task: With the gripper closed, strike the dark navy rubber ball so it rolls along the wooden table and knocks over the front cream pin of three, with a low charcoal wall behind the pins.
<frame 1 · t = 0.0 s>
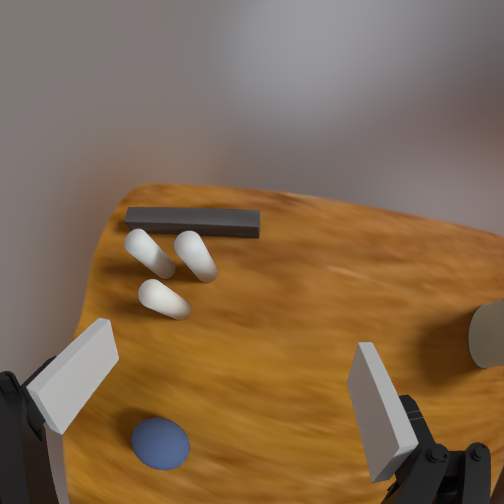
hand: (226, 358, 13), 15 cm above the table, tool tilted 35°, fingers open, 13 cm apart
back wall: (193, 227, 33), on the table
can: (487, 336, 26), on the table
ball: (160, 444, 21), on the table
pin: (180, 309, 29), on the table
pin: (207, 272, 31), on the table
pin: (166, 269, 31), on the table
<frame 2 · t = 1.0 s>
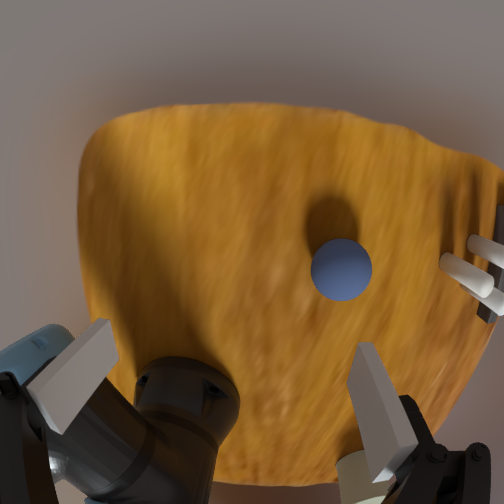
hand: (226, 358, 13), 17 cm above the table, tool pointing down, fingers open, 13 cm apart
back wall: (493, 262, 27), on the table
can: (358, 460, 38), on the table
ball: (341, 269, 25), on the table
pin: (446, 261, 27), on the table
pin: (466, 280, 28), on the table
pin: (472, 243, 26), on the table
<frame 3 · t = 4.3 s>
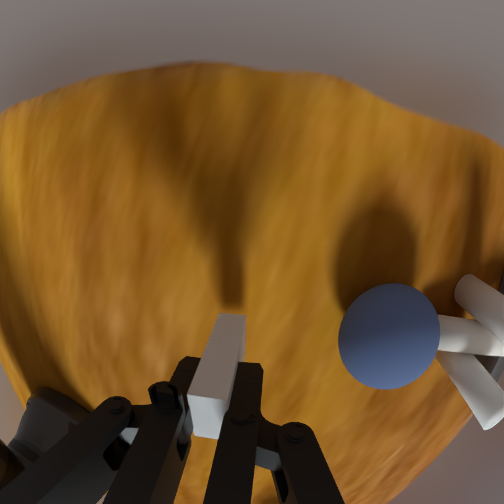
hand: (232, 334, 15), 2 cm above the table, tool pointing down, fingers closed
back wall: (496, 315, 15), on the table
ball: (389, 336, 13), on the table
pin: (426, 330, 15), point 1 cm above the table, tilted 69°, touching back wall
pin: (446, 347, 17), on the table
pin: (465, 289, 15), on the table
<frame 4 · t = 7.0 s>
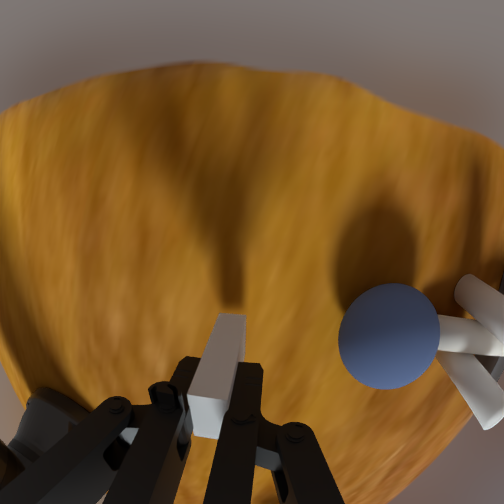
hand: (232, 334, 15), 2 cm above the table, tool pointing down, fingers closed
back wall: (497, 315, 15), on the table
ball: (389, 336, 13), on the table
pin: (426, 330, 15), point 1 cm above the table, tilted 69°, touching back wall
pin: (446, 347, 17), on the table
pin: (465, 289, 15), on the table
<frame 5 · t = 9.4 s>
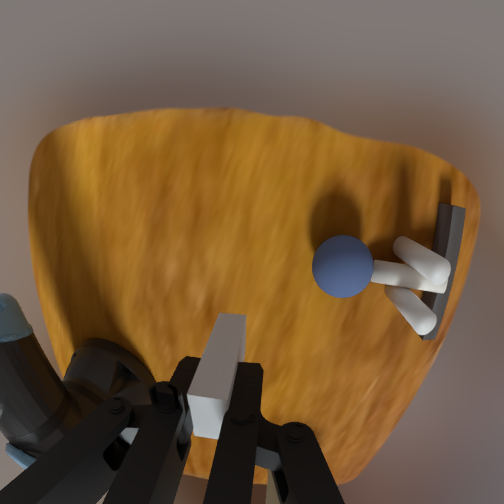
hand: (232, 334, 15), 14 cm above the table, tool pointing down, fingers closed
back wall: (434, 269, 27), on the table
can: (291, 465, 40), on the table
ball: (342, 266, 25), on the table
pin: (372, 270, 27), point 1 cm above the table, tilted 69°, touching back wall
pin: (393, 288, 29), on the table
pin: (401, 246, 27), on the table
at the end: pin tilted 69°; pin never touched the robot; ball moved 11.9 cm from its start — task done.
